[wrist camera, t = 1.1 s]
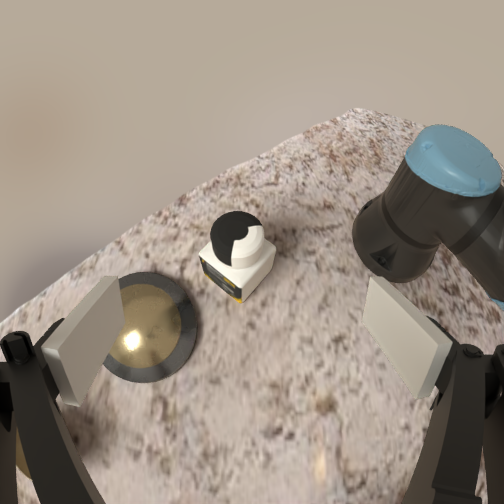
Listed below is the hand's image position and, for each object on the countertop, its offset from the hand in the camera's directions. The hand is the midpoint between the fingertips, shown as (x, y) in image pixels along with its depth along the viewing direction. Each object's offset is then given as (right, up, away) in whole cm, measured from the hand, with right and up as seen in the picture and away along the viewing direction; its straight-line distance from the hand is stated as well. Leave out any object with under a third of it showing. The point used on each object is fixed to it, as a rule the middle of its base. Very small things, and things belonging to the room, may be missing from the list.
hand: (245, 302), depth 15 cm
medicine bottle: (-2, 0, +29) cm, 29 cm away
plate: (-15, -8, +25) cm, 30 cm away
